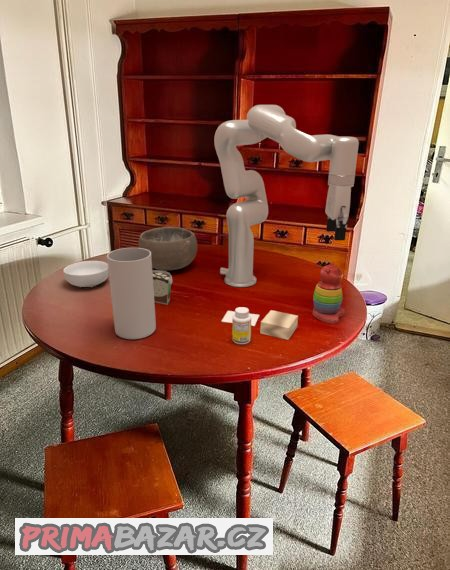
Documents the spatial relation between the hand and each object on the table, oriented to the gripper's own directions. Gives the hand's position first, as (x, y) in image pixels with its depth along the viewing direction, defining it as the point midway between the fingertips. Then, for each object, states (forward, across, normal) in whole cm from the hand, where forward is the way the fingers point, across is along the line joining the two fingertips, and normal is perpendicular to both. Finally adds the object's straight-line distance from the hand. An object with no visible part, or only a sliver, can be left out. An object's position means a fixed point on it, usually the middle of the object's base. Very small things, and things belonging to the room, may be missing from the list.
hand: (335, 235), depth 135 cm
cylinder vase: (+27, +11, -63) cm, 69 cm away
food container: (+27, -12, -57) cm, 65 cm away
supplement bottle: (+27, +18, -30) cm, 44 cm away
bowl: (+27, -45, -57) cm, 78 cm away
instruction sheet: (+27, +3, -30) cm, 40 cm away
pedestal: (+27, +12, -18) cm, 35 cm away
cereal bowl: (+27, -27, -87) cm, 95 cm away
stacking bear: (+27, +2, 0) cm, 27 cm away
